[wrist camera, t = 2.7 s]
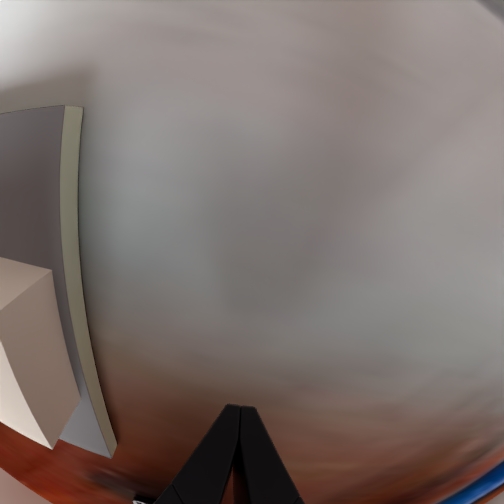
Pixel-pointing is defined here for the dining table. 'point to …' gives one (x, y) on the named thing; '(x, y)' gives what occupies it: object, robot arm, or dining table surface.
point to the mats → (42, 233)
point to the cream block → (33, 355)
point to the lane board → (78, 264)
